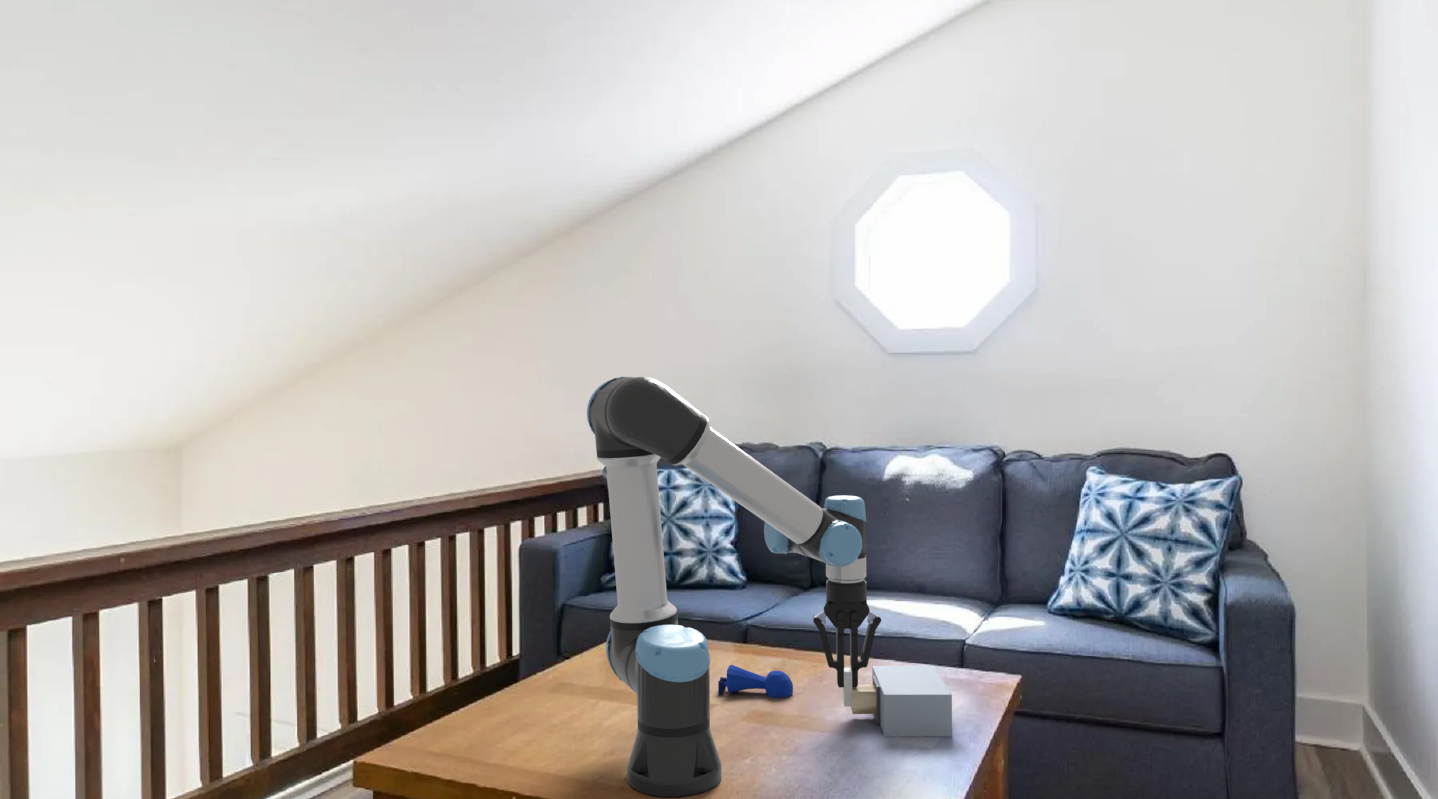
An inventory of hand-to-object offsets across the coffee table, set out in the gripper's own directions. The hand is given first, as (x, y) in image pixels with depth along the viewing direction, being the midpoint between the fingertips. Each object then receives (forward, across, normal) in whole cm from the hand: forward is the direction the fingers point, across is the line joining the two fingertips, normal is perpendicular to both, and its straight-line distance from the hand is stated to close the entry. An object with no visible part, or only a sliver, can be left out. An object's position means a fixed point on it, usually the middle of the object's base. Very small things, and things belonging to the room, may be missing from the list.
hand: (847, 704), depth 190 cm
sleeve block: (+3, -12, 0) cm, 12 cm away
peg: (+1, -9, 0) cm, 9 cm away
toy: (+3, +17, -16) cm, 24 cm away
